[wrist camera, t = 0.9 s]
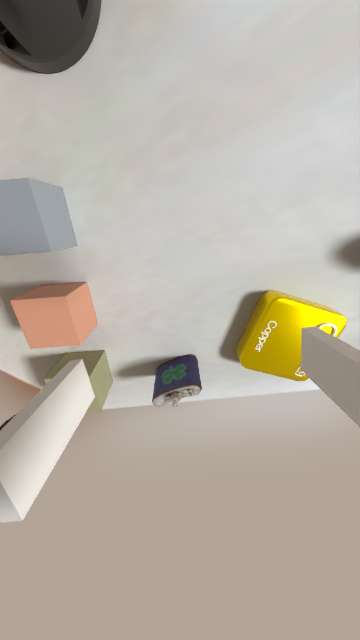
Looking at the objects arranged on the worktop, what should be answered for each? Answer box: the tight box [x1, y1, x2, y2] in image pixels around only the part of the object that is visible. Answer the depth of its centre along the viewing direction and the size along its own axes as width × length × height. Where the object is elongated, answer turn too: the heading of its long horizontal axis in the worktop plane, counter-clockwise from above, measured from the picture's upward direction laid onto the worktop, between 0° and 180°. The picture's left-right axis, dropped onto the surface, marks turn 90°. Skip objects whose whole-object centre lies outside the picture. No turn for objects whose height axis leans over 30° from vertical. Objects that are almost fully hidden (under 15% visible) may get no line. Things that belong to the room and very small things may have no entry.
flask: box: [152, 354, 202, 407], centre depth 40 cm, size 9×3×11 cm, turn 113°
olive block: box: [44, 350, 113, 411], centre depth 41 cm, size 8×8×8 cm
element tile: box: [236, 290, 347, 381], centre depth 40 cm, size 15×15×5 cm
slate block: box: [0, 178, 78, 256], centre depth 29 cm, size 8×8×8 cm
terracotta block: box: [10, 282, 98, 349], centre depth 35 cm, size 8×8×8 cm
